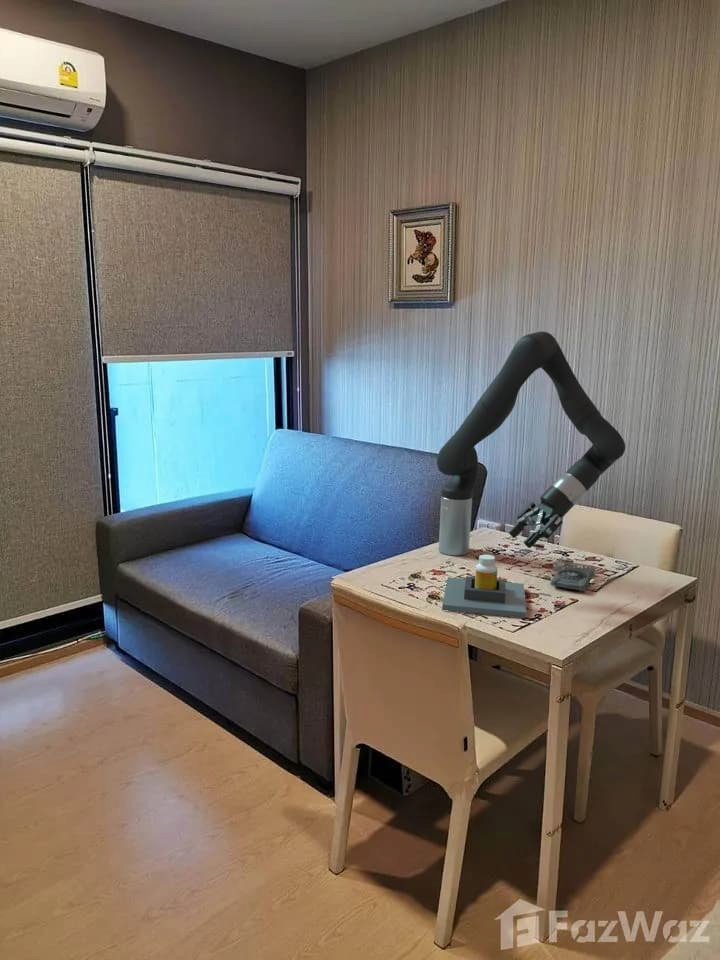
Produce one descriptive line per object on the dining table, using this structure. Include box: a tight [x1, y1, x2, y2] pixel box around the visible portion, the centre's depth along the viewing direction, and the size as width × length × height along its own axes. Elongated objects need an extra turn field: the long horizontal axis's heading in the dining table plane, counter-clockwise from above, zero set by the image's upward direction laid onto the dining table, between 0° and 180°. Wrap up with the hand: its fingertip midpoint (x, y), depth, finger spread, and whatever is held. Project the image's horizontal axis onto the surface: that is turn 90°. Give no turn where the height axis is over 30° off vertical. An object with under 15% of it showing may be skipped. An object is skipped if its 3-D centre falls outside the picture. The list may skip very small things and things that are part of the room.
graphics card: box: [551, 560, 597, 591], centre depth 204 cm, size 17×4×12 cm
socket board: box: [441, 575, 527, 619], centre depth 189 cm, size 20×20×4 cm
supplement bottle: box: [474, 554, 498, 590], centre depth 188 cm, size 5×5×10 cm
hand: (518, 540), depth 188 cm, fingers open, 8 cm apart
